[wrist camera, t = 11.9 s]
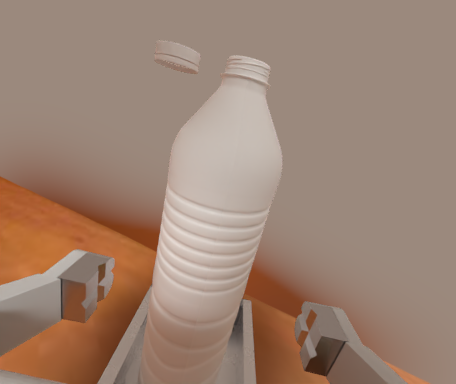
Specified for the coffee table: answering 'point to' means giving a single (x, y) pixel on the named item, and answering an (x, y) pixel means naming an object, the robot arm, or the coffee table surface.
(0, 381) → the robot arm
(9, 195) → the coffee table surface
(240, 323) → the keeper cradle
